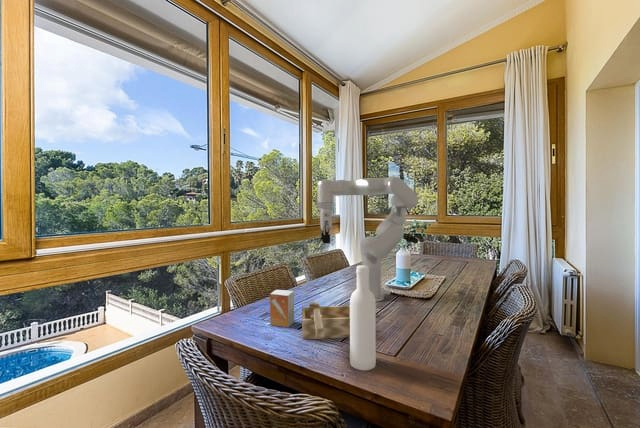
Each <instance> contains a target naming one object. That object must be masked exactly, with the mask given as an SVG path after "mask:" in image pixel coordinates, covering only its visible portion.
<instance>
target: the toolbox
mask: <svg viewBox="0 0 640 428" xmlns="http://www.w3.org/2000/svg"><path fill="white" fill-rule="evenodd" d="M314 309H320V314H321V319H322V324H323V328H324V338H318V340H321V339H336V338H337V339H338V338H341V339H342V338H344V339H345V338H350V305H328V306H324V305H323V306H320V302H318V301H317V302H308V306H302V307H301V325H302V326H301V329H302V340H312V339H313V340H317V335H316V329H315V322H314Z"/></svg>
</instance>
